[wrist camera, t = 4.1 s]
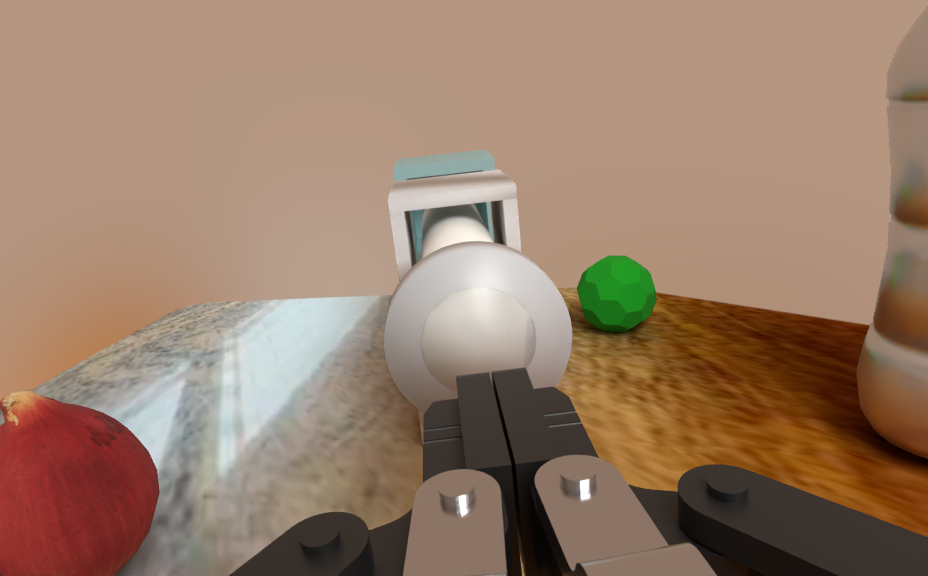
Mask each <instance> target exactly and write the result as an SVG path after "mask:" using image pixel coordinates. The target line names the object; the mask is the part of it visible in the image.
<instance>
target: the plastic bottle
mask: <svg viewBox="0 0 928 576" xmlns="http://www.w3.org/2000/svg"><path fill="white" fill-rule="evenodd" d="M886 97H887V98H889V106H887V114H888V128H889V129H888V130H889V147H890V163H891V186H890V207H889V211H890V213H891V214H892V216H891V217H892V218H891V222H890V223H889V230H888V248H887V253H886V258H885V263H884V268H883V273H882V278H881V283H880V288H879V293H878V297H877V302H876V308H875V312H874V317H873V321H874V322H872V323H871V325H870V327H869V330H868V332H867V335H866V338H865V340H864V343H863V347H862V351H861V354H860V358H859V362H858V366H857V370H856V375H857V385H858V394H859V403H860V408H861V409H862V411H863V413H864V415H865V416H866V418H867V419H868V421H869V422H870V424H871V425H872V427H873V428H874V430H875V431H876V432H877V433H878V434H879V435H880V436H882V437H883V438H884V439H886V440H887V441H888V442H890V443H892V444H893V445H895V446H897V447H899V448H901V449H903V450H905V451H908V452H910V453H912V454H915V455H917V456H920V457H924V458H927V459H928V7H927V8H926V9H925V10H924V11H923V12H922V14H921V15H920V16H919V17H918V18H917V20H916V21H915V23H914V24H913V26H912V27H911V29H910V30H909V31H908V33H907V34H906V35H905V37H904V38H903V40H902V41H901V43H900V44H899V45H898V47H897V49H896V52H895V55H894V57H893V59H892V62H891V64H890V67H889V69H888V72H887V92H886Z"/></svg>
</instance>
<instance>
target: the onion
mask: <svg viewBox="0 0 928 576" xmlns="http://www.w3.org/2000/svg"><path fill="white" fill-rule="evenodd" d="M0 410H1V411H3V415H4V420H5V423H4V424H2V425H1V426H0V576H114V575H115V574H116V573H117V572H118V571H119V570H120V569H121V568H122V567H124V566H125V564H126V563H127V562H128V561H129V560H130V558H131V557H132V556H133V555H134V554H135V553H136V551H137V550H138V549H139V547H140V545H141V544H142V542H143V540H144V539H145V537H146V536H147V534H148V532H149V530H150V526H151V523H152V519H153V516H154V512H155V508H156V504H157V500H158V496H159V484H158V475H157V469H156V467H155V465H154V463H153V460H152V458H151V456H150V454H149V452H148V450H147V449H146V448H145V447H144V446H143V445H142V443H141V442H140V441H139V440H138V439H137V437H136V436H135V435H134V434H133V433H132V432H131V431H130V430H129V429H128V428H127V427H125V426H124V425H122V424H121V423H120V422H118V421H117V420H116V419H114V418H112V417H110V416H108V415H106V414H104V413H102V412H99V411H96V410H93V409H90V408H87V407H83V406H79V405H74V404H67V403H62V402H59V401H57V400H54V399H51V398H47V397H43V396H41V395H39V394H36V393H34V392H32V391H30V390H25V391H15V392H12V393H10V394H9V395H7V396H6V397H4V398H3V399H2V400H1V401H0Z"/></svg>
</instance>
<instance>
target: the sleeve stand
mask: <svg viewBox="0 0 928 576" xmlns="http://www.w3.org/2000/svg"><path fill="white" fill-rule="evenodd" d="M481 202H490V203H491V214H492V225H493V236H494V243H498V244H502V245H505V246H508V247H511V248H513V249H515V250H517V251H519V252H521V244H520V231H519V218H518V206H517V193H516V184H515V183H514V182H513V181H512V180H510V179H509V178H508V177H507V176H506V175H505V174H504V173H502V172H501V171H500V170H491V171H482V172H473V173H464V174H455V175H446V176H438V177H429V178H420V179H411V180H402V181H395V182H394V184H393V187H392V189H391V192H390V194H389V197H388V203H389V211H390V218H391V225H392V232H393V239H394V246H395V253H396V260H397V266H398V274H399V281H401V280H402V278H403V277H404V275H405V274H406V273H407V272H408V271H409V270H410V269H411V268H412V267H413V266H414V265H415V264H416V263H417V258H416V250H415V243H414V235H413V227H412V220H411V212H410V211H412V210H420V209H429V208H438V207H446V206H455V205H464V204H473V203H481ZM418 415H419V422H420V429H421V436H422V443H423V432H424V430H423V415H424V413H423V412H422V411H420V410H419V409H418ZM423 444H424V443H423Z"/></svg>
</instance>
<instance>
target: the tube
mask: <svg viewBox="0 0 928 576" xmlns="http://www.w3.org/2000/svg"><path fill="white" fill-rule="evenodd" d="M571 347H572V326H571V319H570V316H569V312H568V309H567V306H566V304H565V302H564V299H563V298H562V296H561V294H560V293H559V291H558V289H557V288H556V287H555V285H554V284H553V282H552V281H551V280H550V278H549V277H548V275H547V274H546V273H545V272H544V271H543V269H542V268H541V267H540V266H538V264H537V263H535V262H534V261H533V260H532V259H531V258H529V257H528V256H526V255H525V254H523V253H521V252H519V251H517V250H515V249H513V248H511V247H508V246H505V245H502V244H498V243H494V242H493V240H492V238H491V236H490V234H489V232H488V230H487V228H486V226H485V224H484V222H483V220H482V218H481V216H480V214H479V212H478V210H477V208H476V206H475V205H474V204H464V205H455V206H446V207H438V208H429V209H425V212H424V215H423V227H422V259H421V260H420V261H419V262H417V263H416V264H415V265H414V266H413V267H412V268H411V269H410V270H409V271H408V272H407V273H406V274H405V275H404V277H403V278H402V280H401V281H400V283H399V284H398V286H397V288H396V290H395V292H394V293H393V296H392V298H391V301H390V304H389V308H388V313H387V318H386V324H385V329H384V355H385V359H386V363H387V367H388V369H389V372H390V375H391V377H392V379H393V381H394V382H395V384H396V386H397V388H398V389H399V390H400V392H401V393H402V394H403V396H404V397H405V398H406V399H407V400H408V401H409V402H410V403H411V404H412V405H414V406H415V407H416V408H418V409H419V410H420V411H422V412H423V413H425V412H426V411H427V409H428V408H429V407H430V405H431V404H432V403H433V401H441V400H449V399H457V398H458V393H457V384H456V376H458V375H466V374H474V373H482V372H489V373H490V378H491V382H492V371H498V370H506V369H514V368H522V367H525V368H526V370H527V372H528V375H529V377H530V380H531V383H532V385H533V388H534V389H537V388H545V387H556V386H557V384H558V382H559V381H560V379H561V377H562V376H563V373H564V371H565V369H566V367H567V364H568V361H569V357H570V353H571Z"/></svg>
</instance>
